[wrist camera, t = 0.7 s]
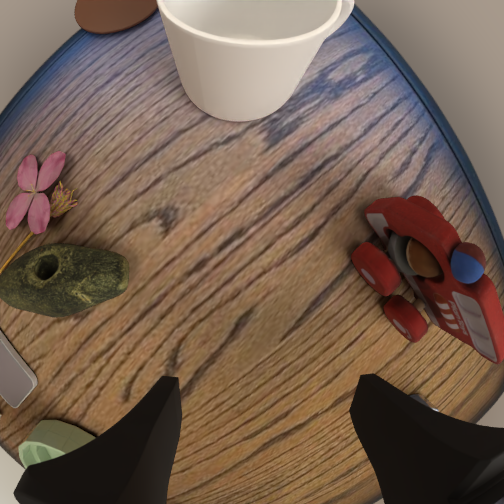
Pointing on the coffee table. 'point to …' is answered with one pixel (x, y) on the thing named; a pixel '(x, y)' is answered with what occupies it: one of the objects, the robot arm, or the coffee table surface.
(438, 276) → the toy fire truck
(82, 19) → the brown round coaster
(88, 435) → the bowl
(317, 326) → the coffee table surface
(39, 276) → the decorative stone
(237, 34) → the mug
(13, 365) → the smartphone
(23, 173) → the flower
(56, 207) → the decorative arrow
